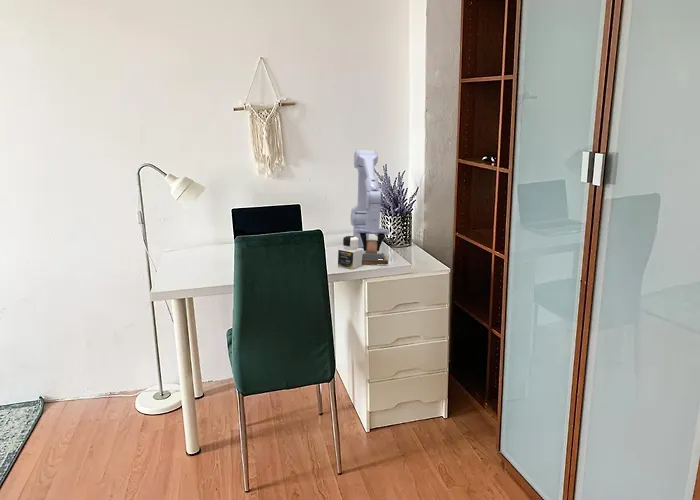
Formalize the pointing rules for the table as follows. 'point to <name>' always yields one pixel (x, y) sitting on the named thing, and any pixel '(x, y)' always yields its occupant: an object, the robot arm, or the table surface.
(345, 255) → the medicine bottle
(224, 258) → the table surface
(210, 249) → the table surface
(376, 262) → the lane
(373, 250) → the terracotta jar
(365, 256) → the plate
